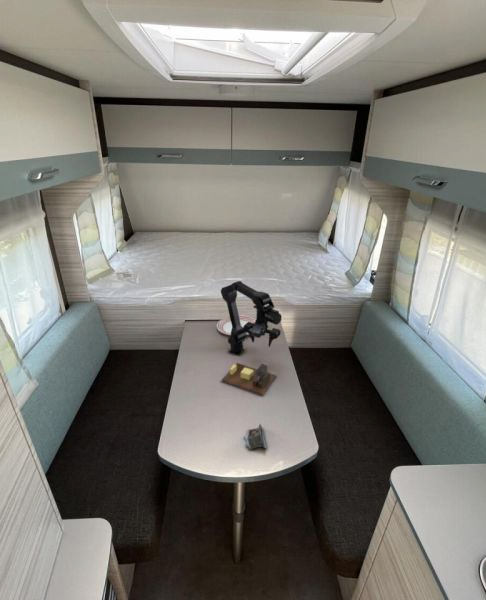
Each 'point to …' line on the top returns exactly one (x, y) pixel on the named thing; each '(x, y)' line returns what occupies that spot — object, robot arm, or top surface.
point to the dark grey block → (261, 371)
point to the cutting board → (250, 384)
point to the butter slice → (233, 369)
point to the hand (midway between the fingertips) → (261, 344)
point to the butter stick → (247, 373)
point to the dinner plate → (226, 324)
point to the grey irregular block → (255, 438)
